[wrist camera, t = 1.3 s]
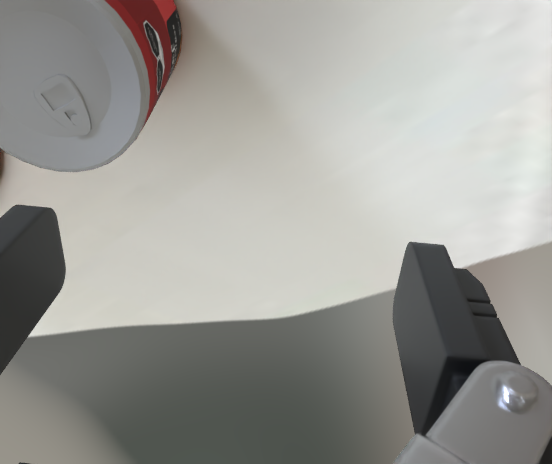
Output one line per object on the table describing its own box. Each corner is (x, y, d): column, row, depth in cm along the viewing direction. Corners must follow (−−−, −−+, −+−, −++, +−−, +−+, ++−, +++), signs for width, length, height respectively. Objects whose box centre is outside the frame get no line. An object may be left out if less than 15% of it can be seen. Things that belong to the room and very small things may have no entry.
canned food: (128, 117, 32) (72, 206, 22) (14, 16, 28) (-106, 72, 19) (213, 30, 29) (189, 90, 20) (99, -93, 26) (6, -90, 16)
